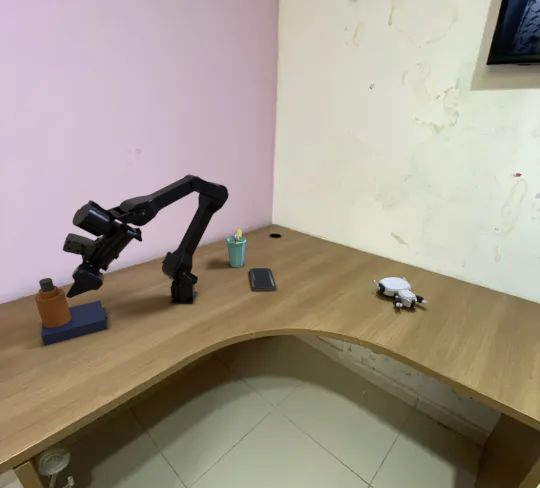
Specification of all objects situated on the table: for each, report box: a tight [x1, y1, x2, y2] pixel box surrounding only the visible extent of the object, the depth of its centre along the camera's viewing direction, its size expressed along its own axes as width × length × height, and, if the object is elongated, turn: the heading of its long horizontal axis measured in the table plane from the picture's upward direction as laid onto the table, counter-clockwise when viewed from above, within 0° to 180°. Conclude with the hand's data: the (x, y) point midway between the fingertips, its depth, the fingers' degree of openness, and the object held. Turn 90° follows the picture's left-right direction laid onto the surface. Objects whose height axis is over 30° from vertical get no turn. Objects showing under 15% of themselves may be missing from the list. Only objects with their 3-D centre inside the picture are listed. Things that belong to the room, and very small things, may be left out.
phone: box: [249, 267, 276, 292], centre depth 112 cm, size 8×1×15 cm
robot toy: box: [373, 276, 429, 308], centre depth 104 cm, size 12×4×15 cm
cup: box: [225, 227, 247, 268], centre depth 119 cm, size 14×8×15 cm, turn 1°
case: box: [41, 300, 108, 346], centre depth 84 cm, size 15×11×3 cm
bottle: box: [34, 277, 71, 328], centre depth 78 cm, size 6×6×12 cm
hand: (71, 287), depth 79 cm, fingers open, 9 cm apart
